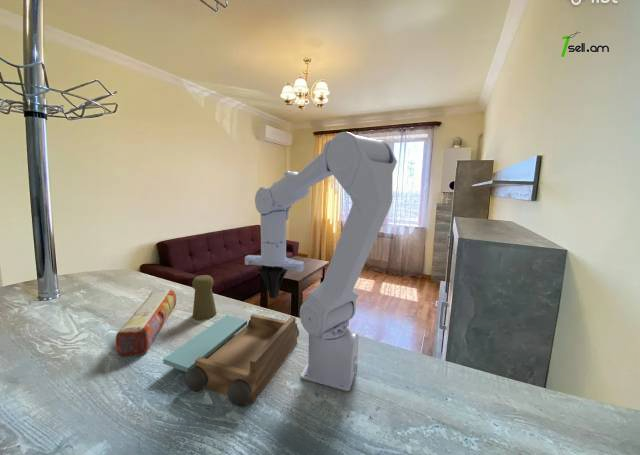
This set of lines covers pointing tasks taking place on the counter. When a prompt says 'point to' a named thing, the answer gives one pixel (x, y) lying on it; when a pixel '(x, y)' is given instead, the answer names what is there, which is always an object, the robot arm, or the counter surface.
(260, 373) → the cart
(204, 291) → the olive tapered cylinder
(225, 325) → the tailgate
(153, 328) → the snack package
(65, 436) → the counter surface
